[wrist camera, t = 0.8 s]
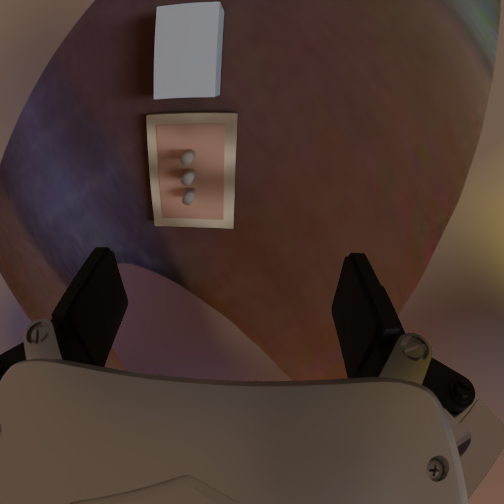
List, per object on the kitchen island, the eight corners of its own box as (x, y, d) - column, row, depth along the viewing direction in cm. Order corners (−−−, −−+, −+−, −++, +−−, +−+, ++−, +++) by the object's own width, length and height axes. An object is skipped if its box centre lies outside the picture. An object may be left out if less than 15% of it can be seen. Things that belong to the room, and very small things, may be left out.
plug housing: (169, 15, 22) (156, 6, 18) (224, 11, 22) (219, 1, 19) (166, 96, 28) (153, 99, 24) (219, 94, 28) (214, 97, 24)
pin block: (149, 113, 29) (138, 118, 26) (237, 112, 29) (235, 116, 26) (157, 221, 37) (149, 235, 34) (233, 223, 37) (231, 239, 34)
